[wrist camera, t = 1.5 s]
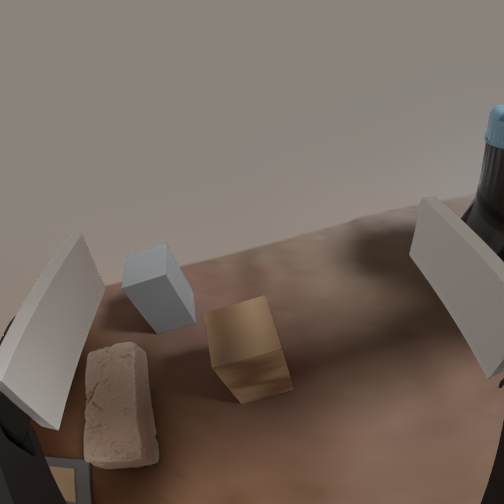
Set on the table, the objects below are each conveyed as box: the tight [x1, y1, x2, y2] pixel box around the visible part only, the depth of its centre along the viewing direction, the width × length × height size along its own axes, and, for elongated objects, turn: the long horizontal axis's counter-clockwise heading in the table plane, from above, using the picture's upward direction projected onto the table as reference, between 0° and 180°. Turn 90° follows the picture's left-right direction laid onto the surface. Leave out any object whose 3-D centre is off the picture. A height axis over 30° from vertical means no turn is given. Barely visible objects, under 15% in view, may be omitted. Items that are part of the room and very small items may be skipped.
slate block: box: [121, 243, 196, 334], centre depth 39 cm, size 6×6×10 cm
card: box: [45, 456, 93, 504], centre depth 23 cm, size 10×8×1 cm
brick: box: [84, 341, 159, 469], centre depth 30 cm, size 16×8×5 cm, turn 16°
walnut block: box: [204, 295, 294, 404], centre depth 29 cm, size 6×6×10 cm
